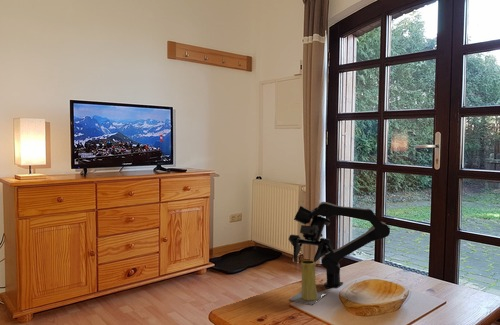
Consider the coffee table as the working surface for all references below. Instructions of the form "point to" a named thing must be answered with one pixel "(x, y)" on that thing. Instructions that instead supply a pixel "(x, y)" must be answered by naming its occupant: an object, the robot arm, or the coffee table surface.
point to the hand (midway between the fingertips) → (304, 260)
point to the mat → (298, 299)
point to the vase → (308, 281)
